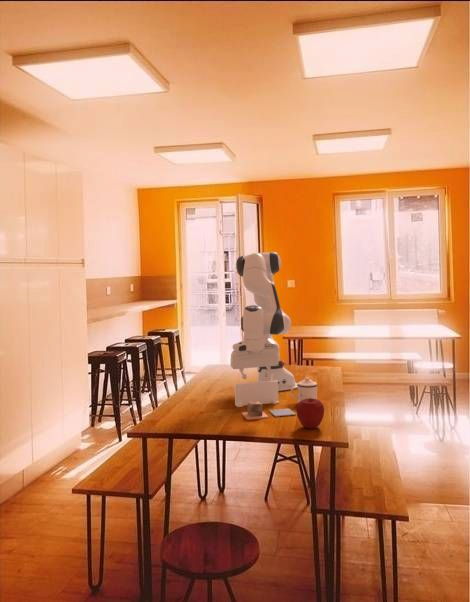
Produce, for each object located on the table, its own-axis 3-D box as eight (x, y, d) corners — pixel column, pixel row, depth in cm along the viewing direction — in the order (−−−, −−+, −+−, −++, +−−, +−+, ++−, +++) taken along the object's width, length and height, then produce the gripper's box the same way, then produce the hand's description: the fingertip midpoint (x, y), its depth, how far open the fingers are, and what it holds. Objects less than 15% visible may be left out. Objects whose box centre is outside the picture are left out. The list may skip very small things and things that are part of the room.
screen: (276, 400, 239) (275, 379, 239) (279, 403, 234) (279, 381, 234) (234, 404, 235) (233, 382, 234) (236, 407, 230) (236, 385, 229)
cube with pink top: (259, 412, 219) (258, 400, 218) (262, 415, 214) (262, 403, 213) (247, 413, 217) (247, 401, 217) (250, 416, 213) (250, 404, 212)
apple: (299, 422, 205) (298, 393, 204) (326, 424, 202) (325, 394, 201) (294, 431, 195) (293, 400, 194) (322, 433, 192) (322, 402, 191)
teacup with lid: (317, 400, 238) (317, 375, 237) (317, 405, 229) (317, 380, 228) (291, 400, 240) (291, 375, 239) (290, 405, 231) (290, 379, 230)
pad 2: (288, 409, 224) (288, 408, 224) (295, 415, 215) (295, 413, 215) (268, 411, 222) (268, 410, 222) (275, 417, 213) (275, 415, 213)
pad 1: (262, 412, 221) (262, 410, 221) (268, 417, 212) (268, 416, 212) (241, 413, 219) (241, 412, 219) (247, 419, 210) (247, 418, 210)
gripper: (275, 342, 219) (276, 374, 220) (228, 345, 214) (230, 378, 216) (280, 344, 213) (281, 377, 214) (232, 347, 208) (233, 381, 209)
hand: (255, 377), depth 215 cm, fingers open, 8 cm apart
